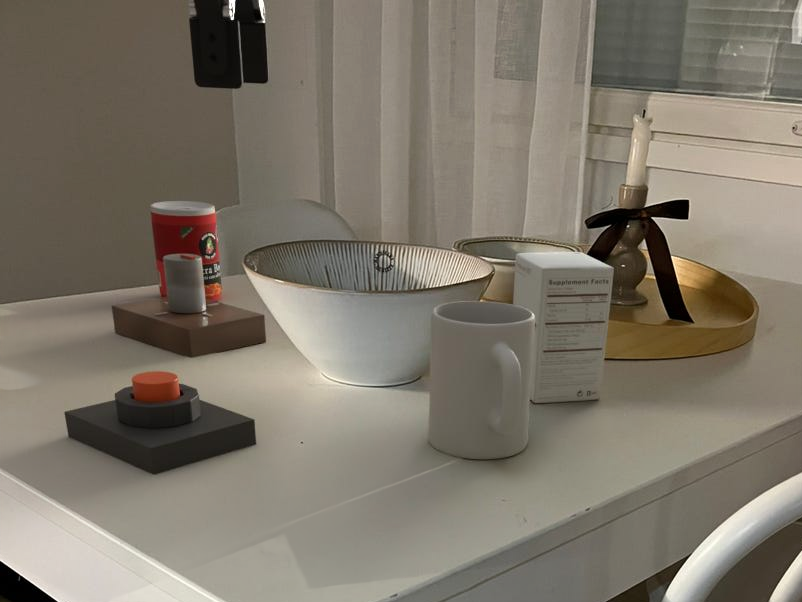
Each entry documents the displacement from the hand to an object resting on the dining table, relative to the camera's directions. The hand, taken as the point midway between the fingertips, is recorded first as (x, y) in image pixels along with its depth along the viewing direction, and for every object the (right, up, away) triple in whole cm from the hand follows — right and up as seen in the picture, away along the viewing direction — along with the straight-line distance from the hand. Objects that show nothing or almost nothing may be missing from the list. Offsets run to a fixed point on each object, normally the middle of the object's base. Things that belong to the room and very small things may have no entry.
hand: (234, 85), depth 74 cm
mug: (+18, -24, +13) cm, 33 cm away
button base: (-9, -24, +11) cm, 28 cm away
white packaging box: (+25, -16, +28) cm, 41 cm away
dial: (-14, -4, +39) cm, 41 cm away
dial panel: (-15, -6, +40) cm, 43 cm away
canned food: (-19, +3, +57) cm, 60 cm away
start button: (-9, -21, +9) cm, 24 cm away
